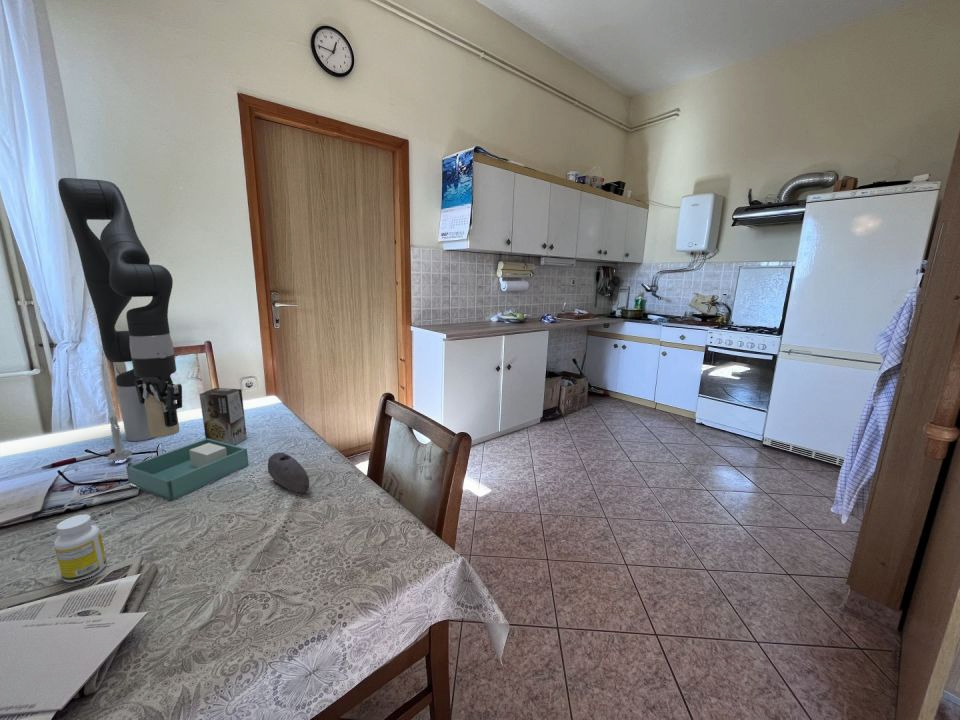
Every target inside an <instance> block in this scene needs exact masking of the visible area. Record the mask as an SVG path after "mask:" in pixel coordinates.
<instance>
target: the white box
mask: <svg viewBox="0 0 960 720" xmlns="http://www.w3.org/2000/svg"><path fill="white" fill-rule="evenodd" d="M189 452H190V459H191V466H194V467H197V468H199V467H202V466H204V465H207V464H209V463H211V462H214V461H216V460H219V459H221V458H223V457H226V456H227V451H226V447H222V446H219V445H215V444H211V443H207V444H204V445H201V446H199V447H196V448H193V449H190V450H189Z"/></svg>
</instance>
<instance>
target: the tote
mask: <svg viewBox="0 0 960 720" xmlns="http://www.w3.org/2000/svg"><path fill="white" fill-rule="evenodd" d="M207 443H211V444H215V445H219V446H222V447H226V451H227V456H226V457H223V458H221V459H219V460H216V461H214V462H211V463H209V464H207V465H204V466H202V467H199V468H197V467H194V466H191V459H190V452H189V450H190V449H193V448H196V447H199V446H201V445H204V444H207ZM248 466H249V457H248V448H245V447H242V446H241V447H240V446H238V445H231V444H227V443H223V442H220V441H216V440H212V439H208V438H207V439H206V438H204V439H201V440H199V441H195V442H193V443H190V444H187V445H184V446H182V447H179V448H176V449H174V450H171V451H168V452H165V453H162V454H160V455H157V456H154V457H151V458H148V459H146V460H143V461H142V460H141V461H139V462H137V463H134V464H131V465H129V466H126V468H125V469H126V475H127V481H128V484H129V483H132V484H134V485H136V486H137V487H139V489H138V490H139V491H142V492H145V493H148V494H151V495H154V496H156V497H159V498H161V499H164V500H167V501H168V502H173V501H175V500H176V499H179V498H181V497H183V496H185V495H187V494H189V493H191V492H193V491H196V490H199V489H201V488H203V487H205V486H206V485H209V484H211V483H213V482H216V481H218V480H220V479H222V478H224V477H226V476H228V475H231V474H233V473H236V472H237V471H239V470H242V469H244V468H246V467H248Z"/></svg>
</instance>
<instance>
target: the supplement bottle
mask: <svg viewBox="0 0 960 720" xmlns="http://www.w3.org/2000/svg"><path fill="white" fill-rule="evenodd" d="M56 532H57V535H58V537H56V539H55V540H54V542H53V546H54V550H55V551H54V552H55V554H56V558H57V563H58V567H59V571H60V574H61V577H62V580H63V581H64V582H66V583H75V582H74V581H78V580H82V579H85V578H88V577H90V578H92V577H95V576H96V575H97V574H99V573H100V572H101V571H103V569H105V568H106V565H107V557H106V552H105V548H104V543H103V539H102V534H101V531H100V528H99V526H97V525H94V524H93V522H92V516H91V515H89V514H77V515H75V516H71V517H69V518H66V519H64V520H62V521H61V522H59V523H58V524H57V525H56ZM91 576H92V577H91ZM88 579H89V578H88ZM85 580H86V579H85ZM82 581H83V580H82ZM78 582H79V581H78Z"/></svg>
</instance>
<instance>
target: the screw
mask: <svg viewBox="0 0 960 720" xmlns="http://www.w3.org/2000/svg"><path fill="white" fill-rule="evenodd" d="M109 421H110V422H109V423H110V427H111V428H110V429H111V430H110V432H111V436H112V437H111V438H112V443H113V445H112V446H113V449H114V452H112V453H110V454H109V455H108V456H107V460H108V461H113V462H114V461H117V460H118V461H119V460H124V459H128V458H129V457H130V456H131V455H132V454H133V451H131V450H127V449H126V450H125V448H124V444H123V438H122V434H121V433H122V431H121V428H120V425H119V423H118V418H117V416H112V417H110V418H109Z"/></svg>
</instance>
